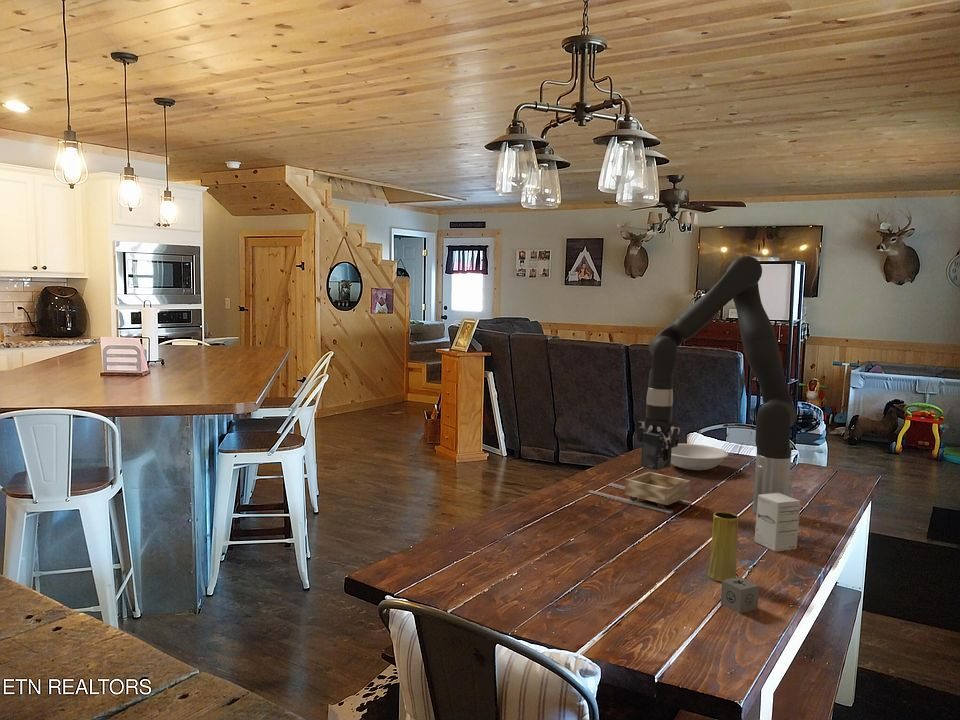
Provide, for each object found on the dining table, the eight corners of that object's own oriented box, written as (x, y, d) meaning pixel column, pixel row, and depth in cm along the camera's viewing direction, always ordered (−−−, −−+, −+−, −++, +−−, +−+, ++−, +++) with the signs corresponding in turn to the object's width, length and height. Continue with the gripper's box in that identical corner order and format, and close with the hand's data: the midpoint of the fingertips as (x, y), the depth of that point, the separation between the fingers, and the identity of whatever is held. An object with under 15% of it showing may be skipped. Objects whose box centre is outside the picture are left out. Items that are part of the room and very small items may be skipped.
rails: (691, 504, 217) (692, 501, 216) (670, 513, 206) (670, 511, 206) (611, 485, 235) (611, 483, 235) (587, 493, 225) (587, 491, 225)
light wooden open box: (689, 500, 217) (690, 480, 217) (667, 510, 207) (668, 489, 206) (647, 490, 226) (648, 471, 226) (624, 499, 216) (625, 479, 215)
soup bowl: (734, 467, 265) (735, 449, 264) (717, 481, 245) (718, 461, 244) (669, 457, 278) (670, 440, 277) (648, 469, 257) (649, 451, 257)
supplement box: (753, 542, 185) (756, 494, 184) (776, 539, 188) (779, 491, 186) (774, 552, 178) (778, 502, 177) (797, 549, 181) (801, 500, 179)
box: (656, 471, 212) (658, 435, 211) (640, 467, 216) (642, 432, 215) (671, 467, 217) (673, 432, 216) (655, 463, 221) (657, 429, 220)
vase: (713, 570, 165) (717, 509, 164) (740, 577, 162) (744, 515, 160) (703, 577, 161) (707, 515, 159) (730, 585, 157) (734, 521, 155)
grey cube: (738, 599, 150) (739, 576, 149) (757, 609, 146) (759, 585, 145) (720, 604, 148) (722, 580, 147) (739, 614, 143) (741, 589, 143)
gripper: (687, 405, 213) (684, 461, 214) (644, 398, 222) (641, 452, 224) (675, 407, 207) (672, 465, 209) (631, 401, 217) (628, 456, 218)
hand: (656, 458), depth 216 cm, fingers closed on box, 5 cm apart
